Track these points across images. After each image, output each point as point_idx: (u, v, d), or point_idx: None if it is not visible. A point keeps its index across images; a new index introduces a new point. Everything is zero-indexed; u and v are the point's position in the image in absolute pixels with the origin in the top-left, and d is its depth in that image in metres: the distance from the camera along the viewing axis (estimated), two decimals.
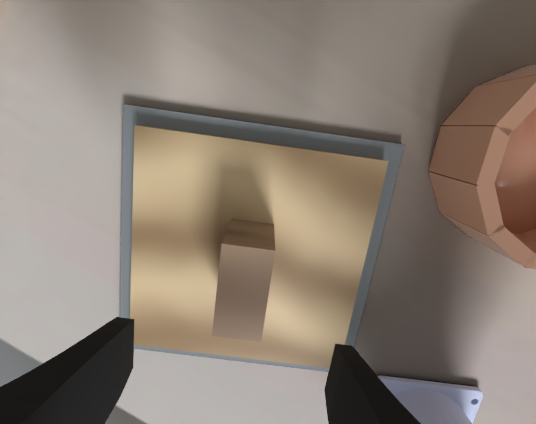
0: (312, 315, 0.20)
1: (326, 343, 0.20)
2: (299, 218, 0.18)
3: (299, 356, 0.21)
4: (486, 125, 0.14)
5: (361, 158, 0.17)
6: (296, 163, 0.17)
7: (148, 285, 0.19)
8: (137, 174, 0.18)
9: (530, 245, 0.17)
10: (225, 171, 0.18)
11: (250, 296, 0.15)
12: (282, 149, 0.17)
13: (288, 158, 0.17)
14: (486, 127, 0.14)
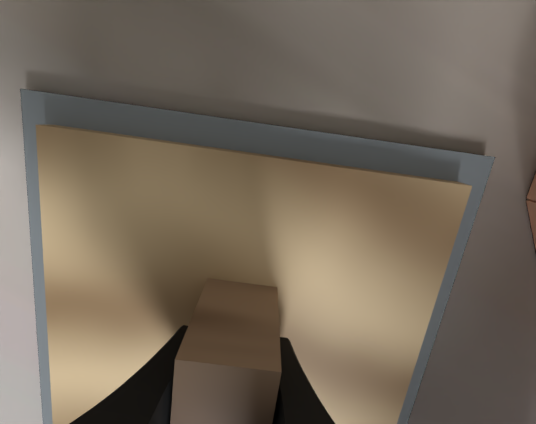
0: (336, 421, 0.13)
1: None
2: (319, 278, 0.11)
3: None
4: None
5: (426, 181, 0.10)
6: (315, 189, 0.10)
7: (78, 377, 0.12)
8: (46, 207, 0.10)
9: None
10: (195, 202, 0.10)
11: None
12: (292, 166, 0.10)
13: (302, 181, 0.10)
14: None
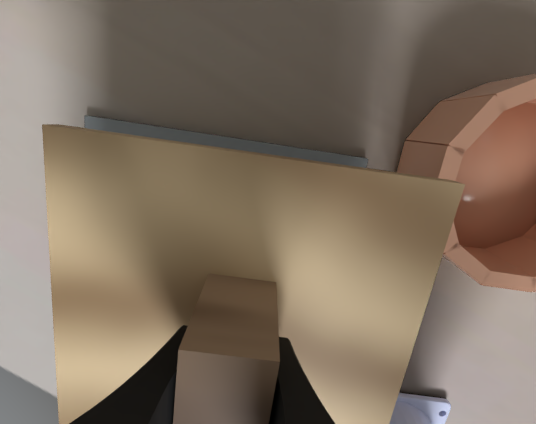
0: (333, 412, 0.13)
1: None
2: (316, 273, 0.11)
3: None
4: (441, 144, 0.14)
5: (420, 179, 0.10)
6: (313, 187, 0.11)
7: (83, 369, 0.13)
8: (52, 204, 0.11)
9: (489, 262, 0.17)
10: (197, 200, 0.11)
11: None
12: (290, 165, 0.10)
13: (300, 180, 0.11)
14: (441, 146, 0.14)
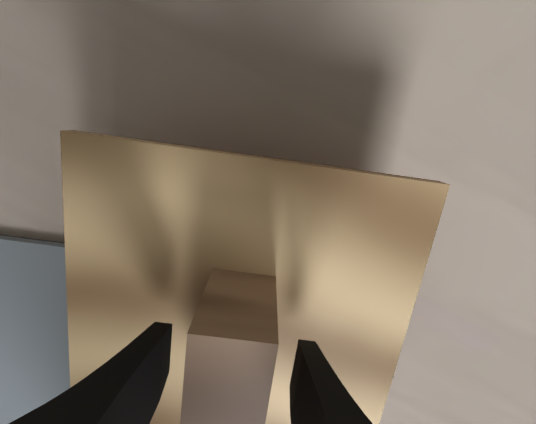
0: None
1: None
2: (313, 268, 0.12)
3: None
4: None
5: (408, 180, 0.11)
6: (309, 188, 0.11)
7: (94, 359, 0.13)
8: (68, 204, 0.12)
9: None
10: (202, 200, 0.12)
11: (238, 413, 0.09)
12: (288, 167, 0.11)
13: (298, 181, 0.11)
14: None
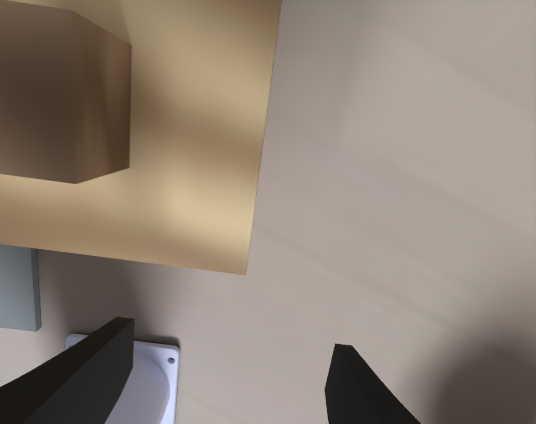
0: (201, 192, 0.14)
1: (225, 236, 0.15)
2: (167, 35, 0.13)
3: (189, 255, 0.15)
4: None
5: None
6: None
7: None
8: None
9: None
10: None
11: (46, 99, 0.09)
12: None
13: None
14: None
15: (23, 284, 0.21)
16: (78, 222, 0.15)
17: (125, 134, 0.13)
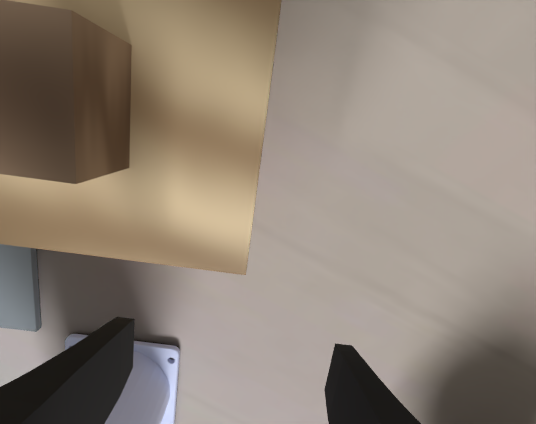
0: (201, 192, 0.14)
1: (225, 236, 0.15)
2: (167, 35, 0.13)
3: (189, 255, 0.15)
4: None
5: None
6: None
7: None
8: None
9: None
10: None
11: (46, 99, 0.09)
12: None
13: None
14: None
15: (23, 284, 0.21)
16: (78, 222, 0.15)
17: (125, 134, 0.13)
